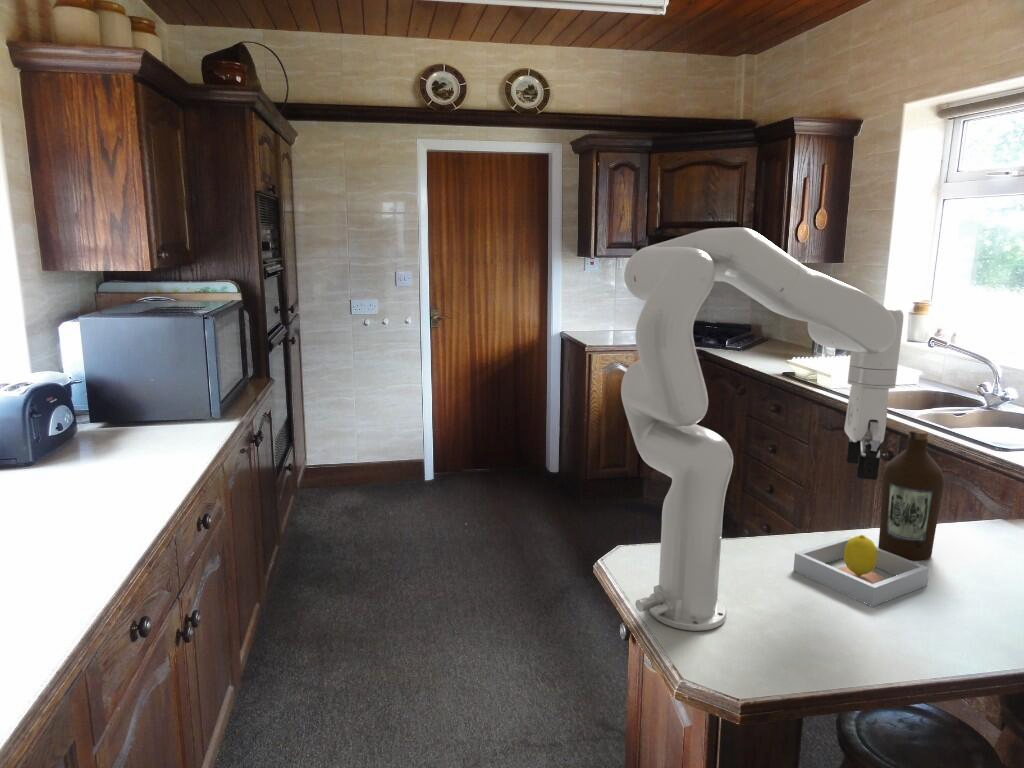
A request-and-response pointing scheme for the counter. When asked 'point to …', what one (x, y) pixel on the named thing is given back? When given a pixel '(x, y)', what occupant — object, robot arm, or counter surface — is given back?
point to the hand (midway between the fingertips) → (861, 470)
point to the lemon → (860, 555)
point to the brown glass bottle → (911, 501)
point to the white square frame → (866, 585)
